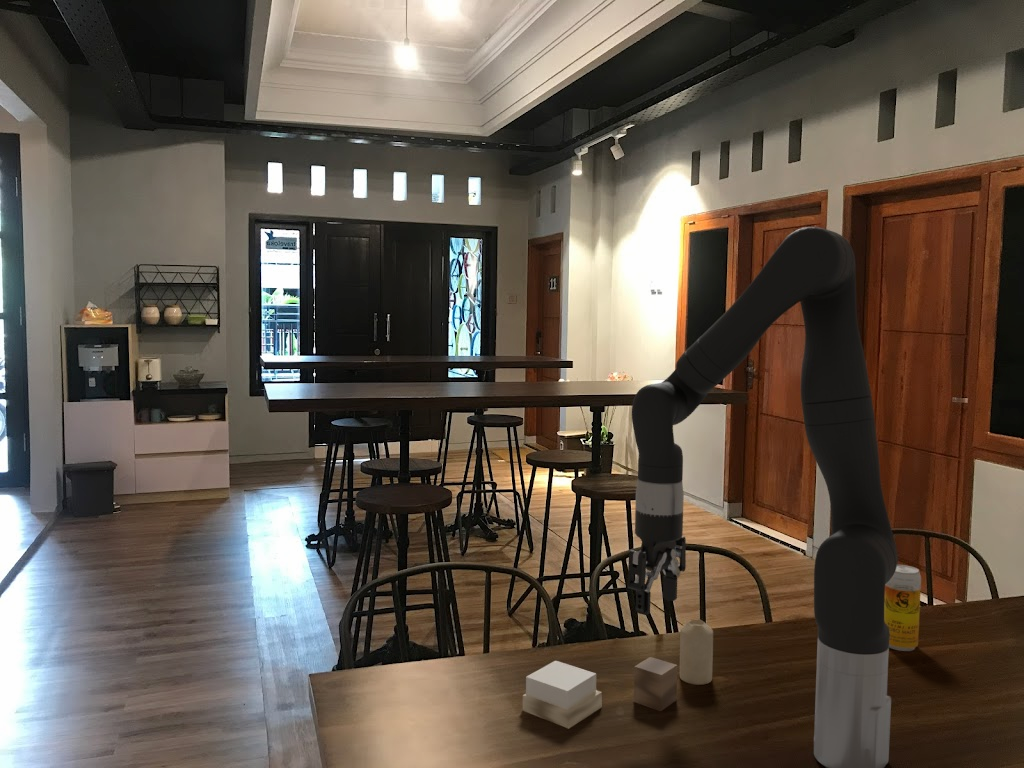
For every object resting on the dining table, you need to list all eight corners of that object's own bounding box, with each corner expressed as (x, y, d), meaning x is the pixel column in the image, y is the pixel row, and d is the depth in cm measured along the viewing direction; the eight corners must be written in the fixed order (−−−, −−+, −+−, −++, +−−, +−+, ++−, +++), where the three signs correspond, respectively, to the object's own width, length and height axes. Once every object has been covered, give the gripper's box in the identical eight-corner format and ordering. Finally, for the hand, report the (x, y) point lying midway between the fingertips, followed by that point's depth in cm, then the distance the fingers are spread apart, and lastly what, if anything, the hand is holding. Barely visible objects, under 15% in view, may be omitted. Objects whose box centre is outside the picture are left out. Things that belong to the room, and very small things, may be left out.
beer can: (884, 650, 156) (888, 572, 155) (880, 638, 162) (883, 562, 161) (920, 654, 154) (924, 575, 153) (914, 641, 160) (918, 565, 159)
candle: (712, 686, 141) (714, 629, 140) (679, 683, 142) (680, 626, 141) (711, 672, 146) (712, 617, 145) (679, 670, 147) (680, 615, 146)
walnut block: (676, 700, 136) (677, 664, 135) (660, 711, 132) (661, 675, 131) (649, 691, 139) (650, 656, 138) (633, 702, 135) (634, 666, 135)
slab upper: (596, 691, 133) (596, 673, 133) (567, 710, 127) (567, 691, 127) (555, 678, 138) (555, 660, 138) (526, 695, 132) (526, 676, 132)
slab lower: (601, 710, 133) (601, 692, 133) (568, 731, 126) (568, 712, 126) (556, 693, 139) (556, 676, 139) (522, 713, 132) (522, 695, 132)
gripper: (657, 520, 125) (654, 624, 126) (701, 503, 136) (698, 600, 137) (614, 511, 130) (612, 612, 131) (661, 496, 140) (658, 590, 142)
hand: (656, 606), depth 134 cm, fingers open, 8 cm apart
